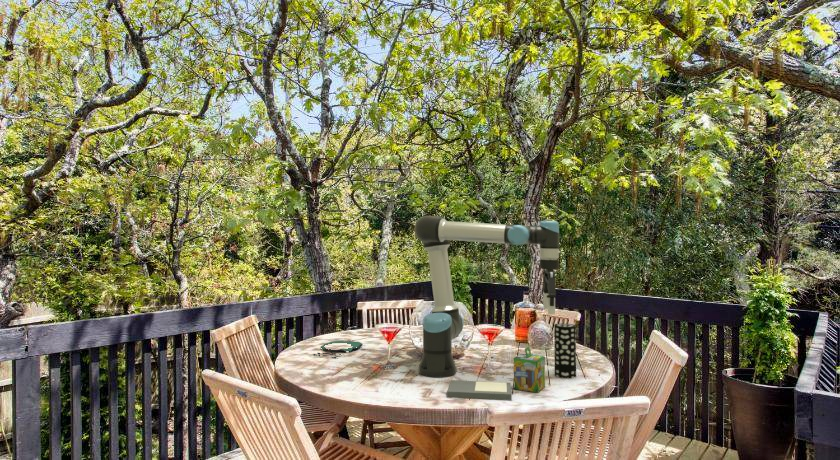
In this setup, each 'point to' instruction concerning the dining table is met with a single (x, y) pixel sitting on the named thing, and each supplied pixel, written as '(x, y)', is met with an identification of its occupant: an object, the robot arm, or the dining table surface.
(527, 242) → the robot arm
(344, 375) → the dining table surface
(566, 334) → the white-spotted black cylinder
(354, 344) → the green piece
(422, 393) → the dining table surface
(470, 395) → the slate board
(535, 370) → the chalk box
